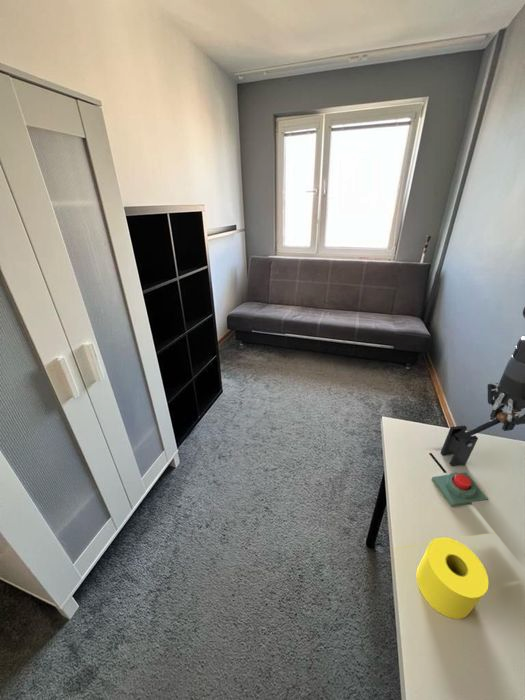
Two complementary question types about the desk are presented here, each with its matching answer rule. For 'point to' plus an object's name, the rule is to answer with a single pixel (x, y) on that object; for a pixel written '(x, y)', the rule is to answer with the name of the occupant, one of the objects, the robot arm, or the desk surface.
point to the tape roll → (451, 578)
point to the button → (462, 482)
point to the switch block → (457, 490)
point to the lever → (482, 426)
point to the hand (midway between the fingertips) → (500, 424)
